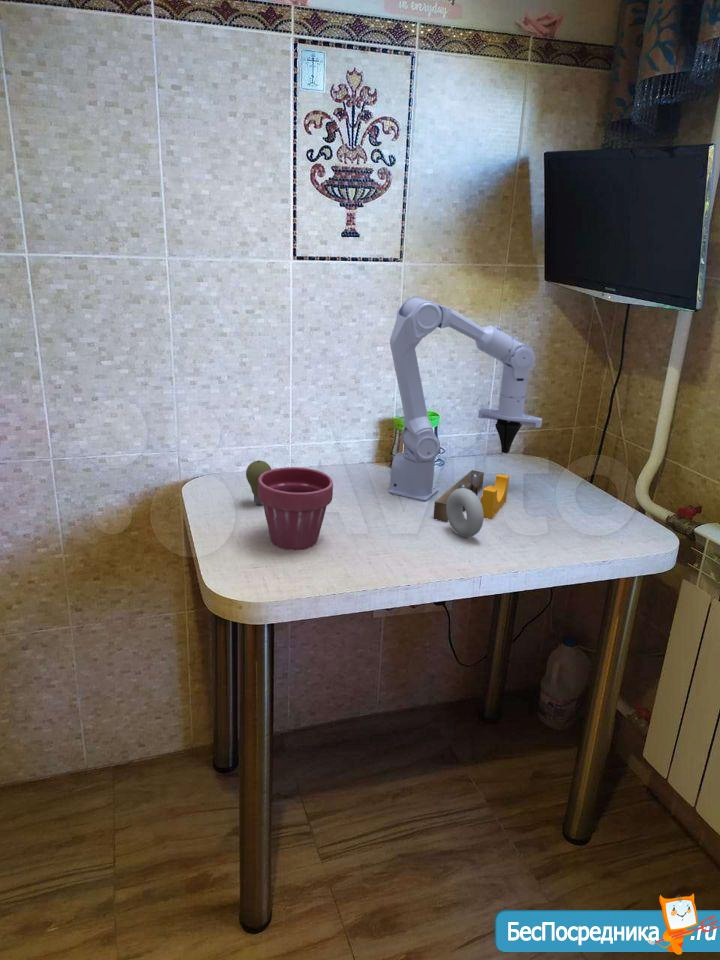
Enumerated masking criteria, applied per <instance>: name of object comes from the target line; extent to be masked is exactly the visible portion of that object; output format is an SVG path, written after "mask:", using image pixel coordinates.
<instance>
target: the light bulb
mask: <svg viewBox="0 0 720 960" xmlns="http://www.w3.org/2000/svg"><path fill="white" fill-rule="evenodd" d="M269 470H273V469H272V467H271V465H270V464H269V463H267V462H266V461H264V460H260V459H259V460H255V461H253V462H251V463H250V464H249V465H248V466H247V468H246V473H245V478H246V480H247V482H248V484H249V486H250V488H251V493H252V494H253V503H255V504H256V505H257V506H263V503H262V502H261V501H260V500H259V499H258V479H259V476H260V475H261V474H263V473H264V472H266V471H269Z"/></svg>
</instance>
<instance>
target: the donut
mask: <svg viewBox="0 0 720 960" xmlns="http://www.w3.org/2000/svg"><path fill="white" fill-rule="evenodd" d="M463 506H464V508H465V513H466V517H465V515H464V512H463ZM446 513H447V518H448V521H447V522H448V523H449V526H450V527H451V529H452V530H453V531H454V532H455V533H456V534H458V535H459V536H461V537H464V538H471V537H474V536H476V535H477V534H478V533H479V532H480V531H481V530H482V527H483V524H484V519H485V518H484V512H483V507H482V504H481V502H480V498H479V497H478V495H477V496H476V494H475V493H473V492H472V491H471V490H469V489H466V488H460V489H456V490H455V491H453V492H452V493H451V494H450V496H449V498H448V500H447V505H446Z"/></svg>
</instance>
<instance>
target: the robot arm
mask: <svg viewBox="0 0 720 960" xmlns="http://www.w3.org/2000/svg"><path fill="white" fill-rule="evenodd" d="M395 319H396V320H395V323H394V326H393V328H392V333H391V334H390V335H391V336H390V338H389V346H390V350H391V355H392V359H393V366H394V370H395V376H396V380H397V384H398V385H397V386H398V390H399V395H400V396H399V397H400V401H401V405H402V410H403V415H404V419H403V421H402V426H403V429H402V433H401V441H402V443H403V445H404V446H405V449H404V450H403V451H404V452H397V453H396V454H395V456H394V457H393V459H392V463H391V468H390V469H391V471H390V472H391V473H390V483H389V485H390V486H389V490H388V493H389V494H393V495H398V496H401V497H407V498H409V499H410V498H411V499H415V500H420V501H422V502H423V501H424V502H427V501H428V500H429V499H430V498H432V497H433V496H434V495H435V494H437V493H438V492H439V488H435V487H434V477H435V476H434V475H435V464H436V457H437V456H438V455H439V453H440V451H441V442H440V439H439V438H438V436H436V434H435V432H434V428H433V425H432V423H431V421H430V417H429V415H428V411H427V406H426V405H427V404H426V400H425V395H424V389H423V385H422V384H423V383H422V379H421V374H420V369H419V363H418V358H417V351H416V348H417V346H418V345H419V344H420V342H421V341H422V340H423V339H424V338H425V337H426V336H428V335H430V333H432V332H434V331H435V330H436V329H437V328H439V329H445V328H450V329H453V330H454V331H456V332H459V333H461V334H463V335H464V336H467V337H469V338H470V339H472V340H474V341H475V345H476V348H477V349H478V350H479V351H481V352H483V353H485V354H486V355H489V356H490V357H492V358H494V359H496V360H497V361H500V362H501V363H502V364H503V366H502V374H501V383H500V384H501V385H500V392H499V400H498V409H492V408H491V409H490V408H483V407H482V408H480V409H479V410H478V415H477V418H478V419H488V420H494V421H496V423H495V424H494V425H495V429H496V432H497V435H498V438H499V441H500V446H501V449H500V451H501V453H503V454H508V453H510V450H511V447H512V444H513V442H514V440H515V438H516V435H517V434H518V432H519V430H521V427H522V426H523V425H524V426H528V427H529V426H530V427H534V428H535V429H540V428H541V427H542V424H543V418H542V417H537V416H533V415H530V414H526V413H524V410H525V409H524V408H525V401H526V395H527V394H526V393H527V386H528V378H529V373H530V369H532V367H533V366H534V365H535V363H536V359H537V358H536V357H535V354H534V351H533V348H532V347H531V346H529V345H527V344H525V343H522V342H520V341H519V338H518V337H517V336H514V335H513V336H510V335H509V334H507V333H506V332H503V331H502V330H503V328H502V327H501V326H498V325H494V326H493V325H487V326H484V327H482V326H480V325H479V324H477V323H476V322H474V321H472V320H471V319H468V318H467V317H466V316H464V315H462V314H460V313H459V312H458V311H456V310H454V309H452V308H450V307H447V306H444V305H441V304H438V303H436V302H434V301H430V300H426V299H424V298H422V297H420V296H411V297H408V298H407V299H406V300H404V301H403V303H402V304H401V305H400V307H399V308H398V309H397V311H396V318H395Z"/></svg>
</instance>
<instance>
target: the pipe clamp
mask: <svg viewBox="0 0 720 960" xmlns="http://www.w3.org/2000/svg"><path fill="white" fill-rule="evenodd" d="M494 480H495V481H494V485H491V484H490V485H488V486H486V487H484V488H482V489H483V490H482V495H481V497H480V498H479V500H480V502H481V504H482V507H483V512H484V519H487V518H488V520H493V518H494V517H495V516H496V515H495V514H497V513H498V512H499V511H500V510H501V508H502V507H503V506H504V505H505V504H506V502H507V499H508V491H509V482H510V475H506V474H502V473H497V474H496V476H495V479H494ZM504 503H505V504H504ZM499 509H500V510H499Z"/></svg>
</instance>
